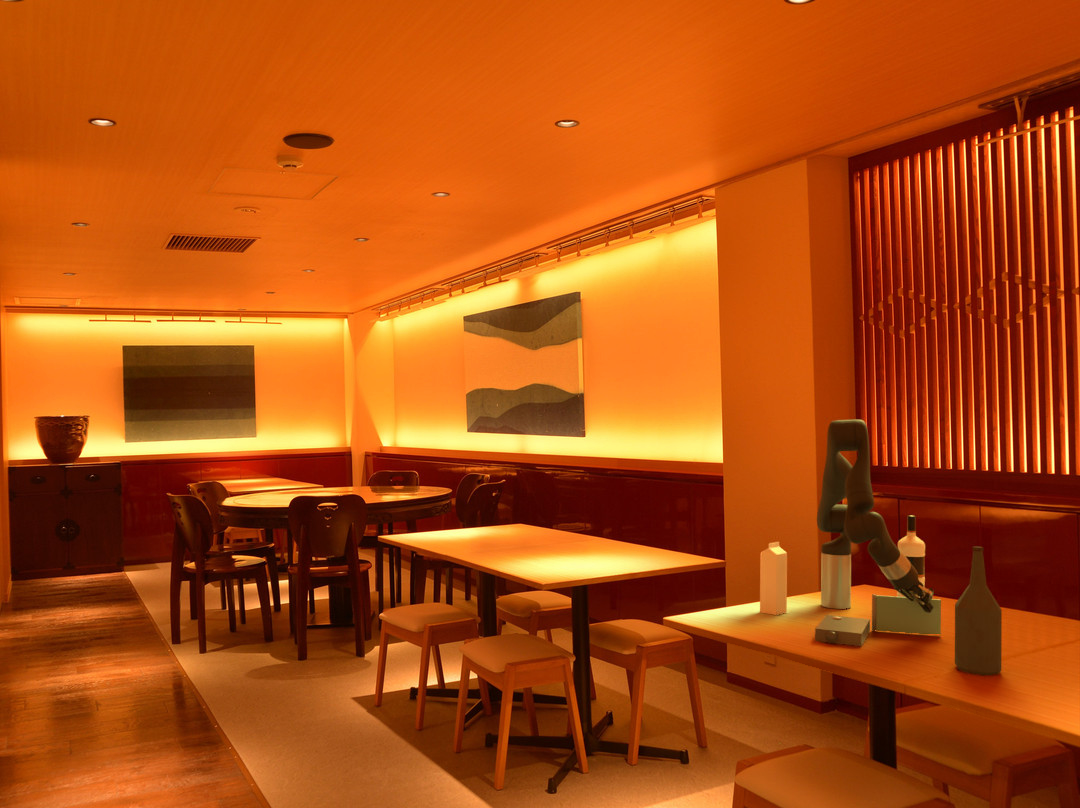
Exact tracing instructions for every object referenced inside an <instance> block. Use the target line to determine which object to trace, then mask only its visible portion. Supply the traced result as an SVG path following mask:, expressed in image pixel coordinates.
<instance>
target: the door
mask: <svg viewBox="0 0 1080 808" xmlns="http://www.w3.org/2000/svg"><path fill="white" fill-rule="evenodd" d="M930 603H931V604H932V606H933V607H934V608H933V610H932V611H931V613H928V612H925V611H924V610H923V608H922V607H921V606H920V605H919V604H917V603H916V602H915V601H914V600H913V601H911V600H909V599H908V598H906V597H897V596H893V595H879V594H878V595H877V594H875V593H873V594H872V595H871V631H872V630H874V631H873V632H886V631H890V632H889V633H899V632H905V633H904V634H912V633H919V634H918V635H925V634H940V635H941V634H942V633H941V632H942V600H941V598H940V599H939V598H937V599H936V598H932V599H931V601H930ZM875 630H876V631H875ZM941 636H942V635H941Z"/></svg>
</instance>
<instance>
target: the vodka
mask: <svg viewBox="0 0 1080 808" xmlns="http://www.w3.org/2000/svg"><path fill="white" fill-rule="evenodd" d="M906 518H907V519H906V520H907V521H906V522H907V525H906V527H907V528H906V529H907V530H906V535H905V536H904V537H902V538H901V539H899V540H898V542H897V548H898V549H899V550H900V551H901V552H902V553H903V554H904V555H905V557H906V558H907V559H908V560H909V562H910V563H911V564H912V566H913V567H914V568H915V569H916V571H917V572H918V580H919V581H920V582H921V583H922V584H923V585H924V586H925V582H926V578H925V556H926V543H925V542H924V540H922V539H921V538H919V537H918V536H917V534H916V533H917V531H916V529H917V527H916V526H917V525H916V524H917V523H916V522H917V521H916V519H917V518H916V516H915V515H907V516H906ZM896 597H905V596H904V595H902V594H901V593H899V592H898V591H897V592H896Z"/></svg>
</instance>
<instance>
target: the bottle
mask: <svg viewBox="0 0 1080 808" xmlns="http://www.w3.org/2000/svg"><path fill="white" fill-rule="evenodd" d="M972 551H973V552H972V559H971V560H972V561H971V569H970V577H969V584H968V585H967V587H966V588H965V590H964V591H963V593H962V594H961V595H960V597H959V598H958V599H957V601H956V602H955V604H954V664H955V667H956V668H957V669H958V671H960V670H962V671H961V672H963V671H964V672H963V673H966V672H967V673H966V674H969V673H974V674H973V675H976V674H979V675H978V676H985V675H989V676H994V675H993V674H997V675H999V674H1000V673H1001V672H1002V652H1003V651H1002V643H1003V642H1002V635H1003V634H1002V631H1003V630H1002V629H1003V628H1002V618H1003V617H1002V616H1003V615H1002V614H1003V613H1002V608H1001V607H1000V605H999V603H998V601H997V600H996V599H995V597H994V596H993V594H992V592H991V590H990V589H989V587H988V585H987V579H986V577H987V576H986V568H985V567H986V566H985V559H984V547H983V546H972ZM998 673H999V674H998Z"/></svg>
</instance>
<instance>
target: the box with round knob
mask: <svg viewBox="0 0 1080 808" xmlns="http://www.w3.org/2000/svg"><path fill="white" fill-rule="evenodd" d="M814 630H815V631H814V640H815V642H817V641H821V642H820V643H825V642H828V643H827V644H834V643H836V644H835V645H842V644H845V645H844V646H851V645H855V646H854V647H859V646H863V645H864V643H865V641H866V640H867V638H868V636H869V634H870V632H871V619H869V618H863V617H851V616H845V615H844V616H842V615H832V614H826V615H825V616H824V617H823V618H822V620H821V621H820V622H819V623H818V625H817V626H816V627H815V629H814ZM869 631H870V632H869ZM868 633H869V634H868ZM867 635H868V636H867ZM866 637H867V638H866ZM865 639H866V640H865ZM862 644H863V645H862Z"/></svg>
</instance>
